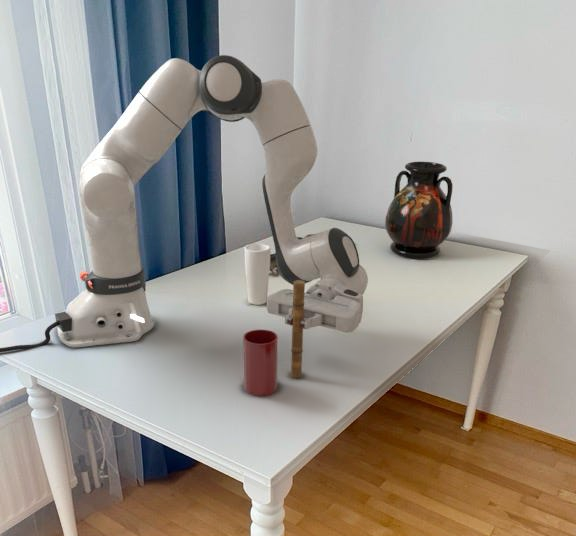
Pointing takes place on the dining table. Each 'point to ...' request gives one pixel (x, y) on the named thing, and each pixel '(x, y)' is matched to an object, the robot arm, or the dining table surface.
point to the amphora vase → (420, 212)
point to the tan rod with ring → (297, 328)
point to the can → (260, 362)
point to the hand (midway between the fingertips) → (295, 323)
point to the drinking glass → (257, 272)
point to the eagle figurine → (273, 263)
